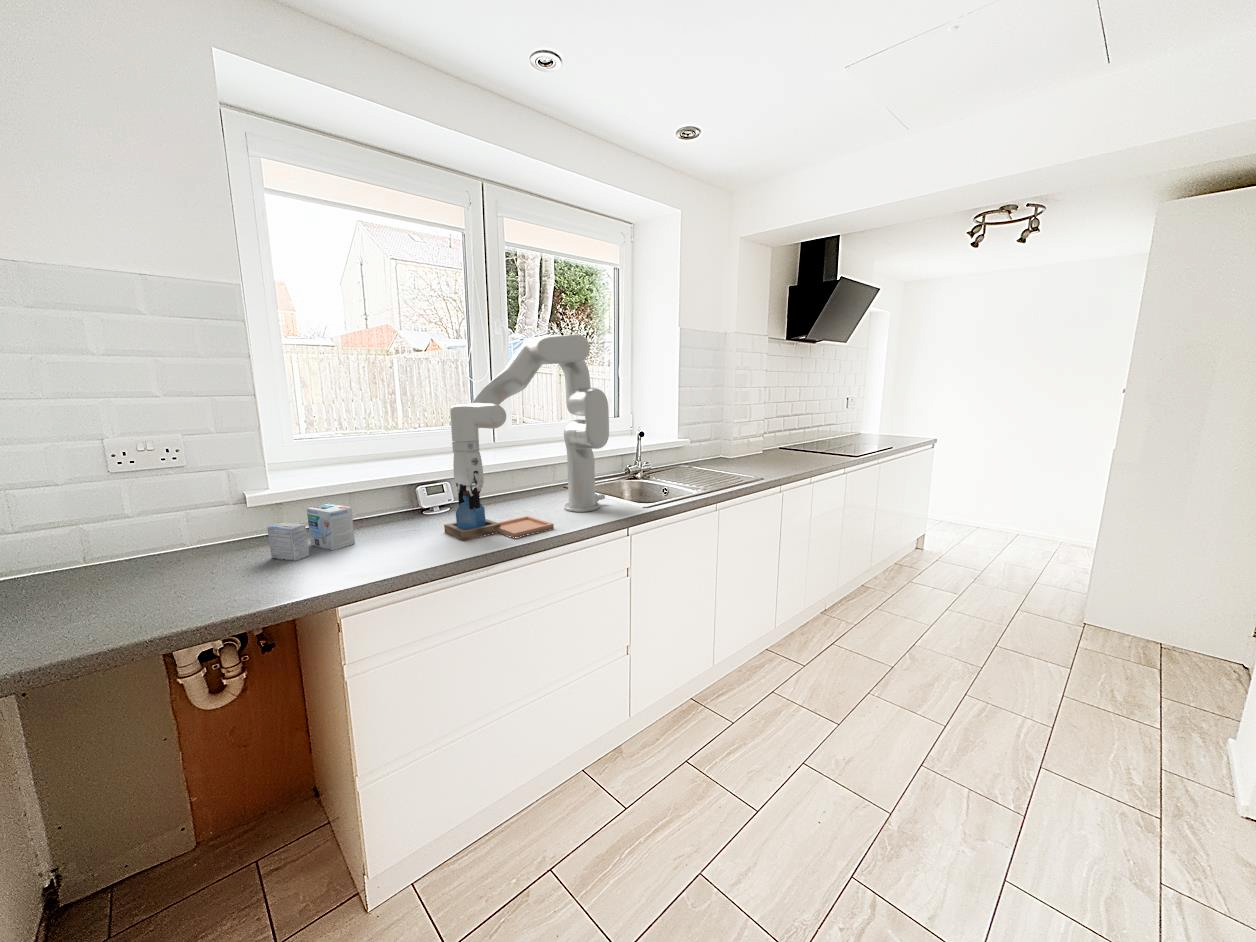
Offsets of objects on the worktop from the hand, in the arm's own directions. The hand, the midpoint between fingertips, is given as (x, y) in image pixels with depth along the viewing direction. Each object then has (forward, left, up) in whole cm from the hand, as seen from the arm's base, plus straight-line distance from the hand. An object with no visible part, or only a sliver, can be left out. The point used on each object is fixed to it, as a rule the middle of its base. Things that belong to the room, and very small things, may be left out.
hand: (469, 506), depth 150 cm
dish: (-12, +9, -8) cm, 17 cm away
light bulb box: (+33, -17, -8) cm, 38 cm away
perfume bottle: (0, 0, -8) cm, 8 cm away
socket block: (0, +1, -8) cm, 8 cm away
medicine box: (+44, -13, -8) cm, 46 cm away
